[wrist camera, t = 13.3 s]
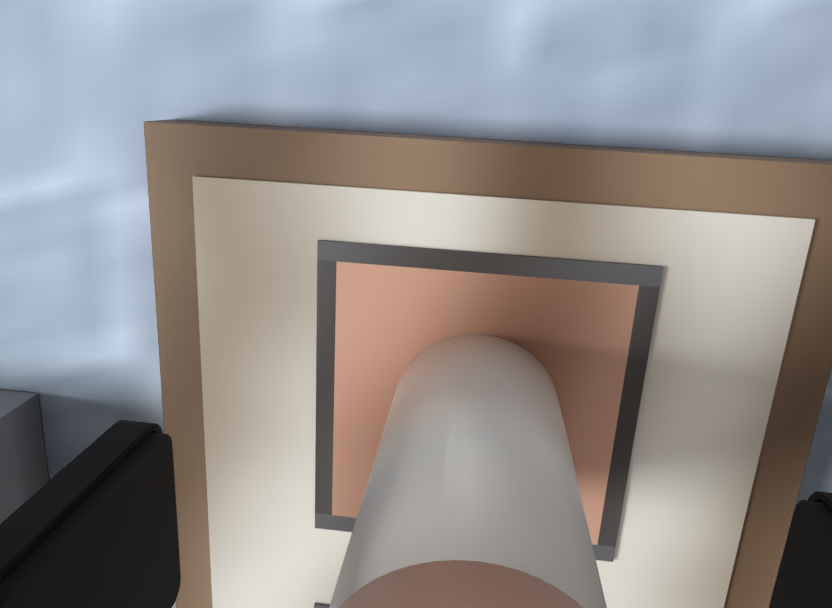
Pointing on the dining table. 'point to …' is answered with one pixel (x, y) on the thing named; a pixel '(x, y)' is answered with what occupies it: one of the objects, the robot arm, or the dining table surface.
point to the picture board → (490, 315)
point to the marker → (472, 491)
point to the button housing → (20, 450)
